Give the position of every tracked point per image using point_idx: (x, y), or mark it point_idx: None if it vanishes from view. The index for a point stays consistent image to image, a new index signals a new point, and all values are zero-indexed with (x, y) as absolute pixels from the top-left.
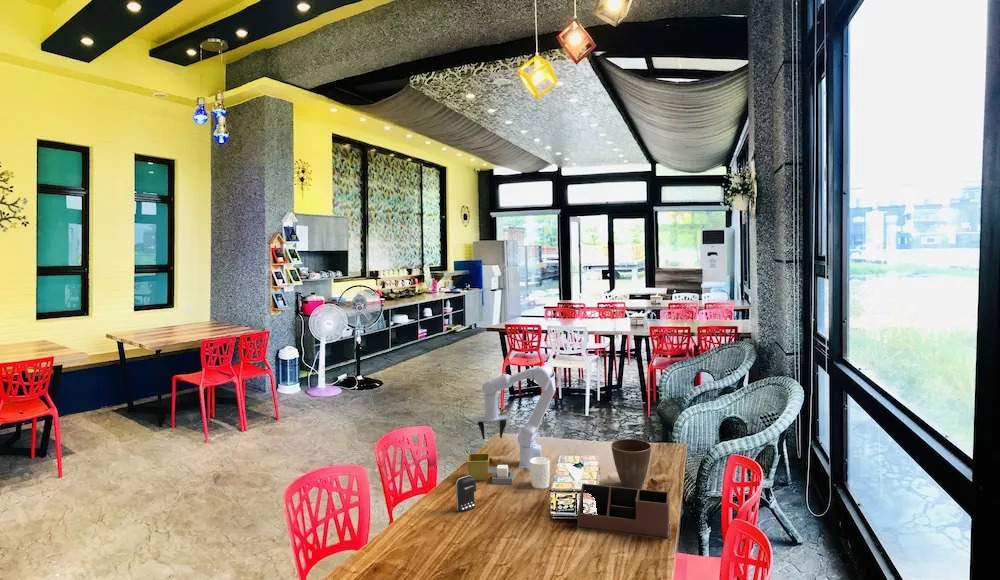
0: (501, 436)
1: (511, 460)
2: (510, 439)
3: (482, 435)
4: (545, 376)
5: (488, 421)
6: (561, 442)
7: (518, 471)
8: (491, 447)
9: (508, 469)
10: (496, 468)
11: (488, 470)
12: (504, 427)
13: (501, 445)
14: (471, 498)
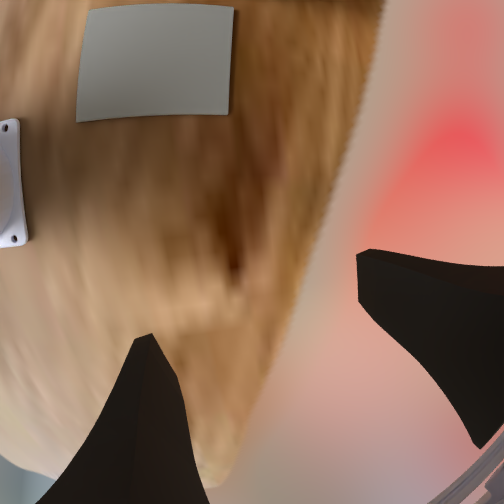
0: (136, 348)
1: (88, 260)
2: None
3: (415, 257)
4: None
5: (480, 473)
6: (2, 452)
7: (23, 68)
8: (247, 410)
9: (80, 68)
10: (166, 76)
11: (221, 42)
12: (64, 473)
13: (205, 433)
14: None
